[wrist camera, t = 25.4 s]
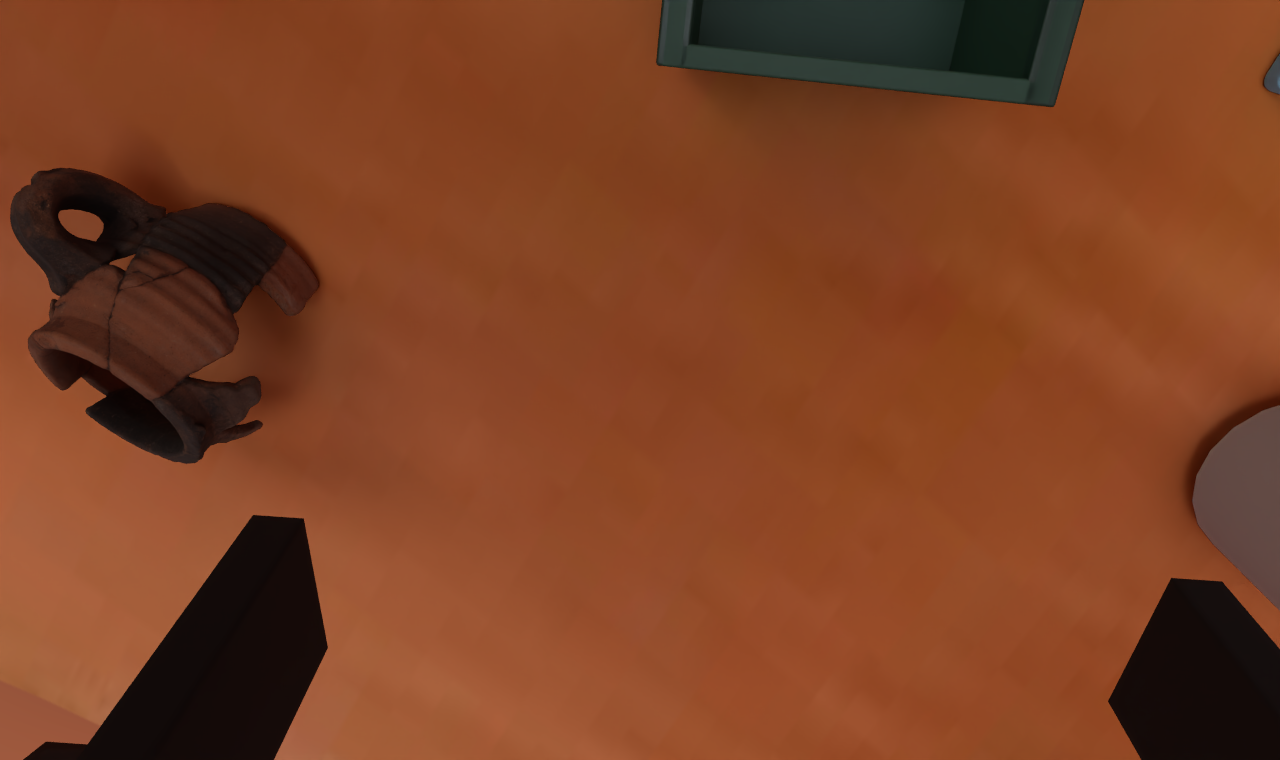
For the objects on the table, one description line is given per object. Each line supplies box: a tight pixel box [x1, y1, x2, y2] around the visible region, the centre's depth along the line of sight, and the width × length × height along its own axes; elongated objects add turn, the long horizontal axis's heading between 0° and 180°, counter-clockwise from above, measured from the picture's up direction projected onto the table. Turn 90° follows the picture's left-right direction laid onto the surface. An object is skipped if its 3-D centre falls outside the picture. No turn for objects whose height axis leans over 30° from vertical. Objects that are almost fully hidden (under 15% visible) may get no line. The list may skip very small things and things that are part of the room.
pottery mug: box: [10, 168, 319, 464], centre depth 32 cm, size 12×10×8 cm
